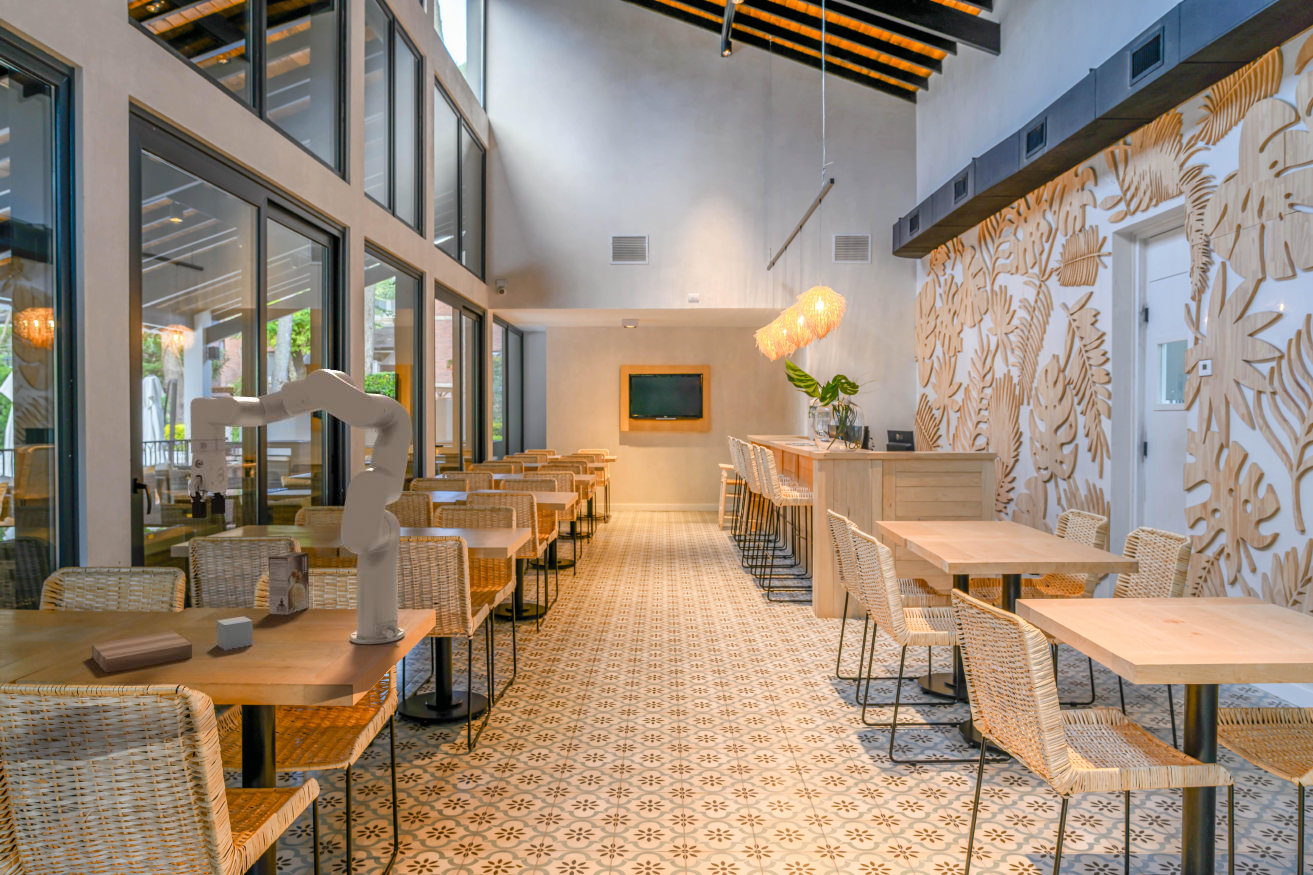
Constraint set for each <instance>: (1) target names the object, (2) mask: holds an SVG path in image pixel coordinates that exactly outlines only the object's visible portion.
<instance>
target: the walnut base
mask: <svg viewBox="0 0 1313 875" xmlns="http://www.w3.org/2000/svg"><path fill="white" fill-rule="evenodd" d="M91 658H92V659H93V660H94V661H95V662H96V664H97V665H98V664H99V665H98V666H99V667H100V668H101V669H102V670H103V671H104V673H106V672H111V673H114V672H113V671H116V672H120V671H119V670H121V671H126V670H131V669H137V668H143V667H147V666H148V667H149V666H152V665H158V664H159V665H160V664H164V663H170V662H175V661H180V660H185V659H190V658H191V659H192V658H193V644H192V643H191V642H189V641H188V640H187V639H185V638H184V637H182V636H181V635H180V634H178V633H177V632H176V631H174V630H171V631H165V632H158V633H153V634H147V635H139V636H134V637H128V638H122V639H116V640H110V641H104V642H97V643H92V644H91Z"/></svg>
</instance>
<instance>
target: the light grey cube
mask: <svg viewBox="0 0 1313 875" xmlns="http://www.w3.org/2000/svg"><path fill="white" fill-rule="evenodd" d="M253 641H254V640H253V620H252V619H250V618H248V617H246V616H237V617H231V618H224V619H217V620H216V646H217V645H218V646H217V647H219V648H220V647H221V648H220V649H222V648H223V649H224V650H223V649H222V650H223V651H228V650H227V649H230V650H233V649H232V648H235V649H239V648H238V647H241V648H244V647H243V646H246V647H250V646H249V645H252V646H253V643H254V642H253Z"/></svg>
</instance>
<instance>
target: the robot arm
mask: <svg viewBox="0 0 1313 875" xmlns="http://www.w3.org/2000/svg"><path fill="white" fill-rule="evenodd" d="M322 410H323V411H325V412H327V413H328V414H330V415H332V416H333V417H335V418H336V419H338V420H340V421H342V422H344V423H345V424H348V425H350V426H351V427H354V428H356V429H359V430H360V429H361V430H365V429H366V430H377V435H376V439H375V441H374V443H373V445H372V446H373V447H372V450H371V455H370V456H371V458H370V462H369V466H368V468H365V469H363V470H360V471H358V472H357V473H356V474H355V475H354V476H352V479H351V481H350V482H349V485H348V487H347V492H346V496H345V502H344V508H343V512H342V513H343V514H342V518H341V525H340V539H341V543H342V545H343V546H344V548H345V549H346V550H347V551H349V552H350V553H352V554H355V555H357V563H356V630H355V631H354V632H352V633H350V635H349V640H350V642H352V643H355V644H358V645H377V644H378V645H379V644H387V643H391V642H395V641H397V640H400V639H403V637H405V629H403V628H400V627H399V623H398V622H399V618H398V617H399V609H398V608H399V602H398V597H399V596H398V589H399V588H398V587H399V586H398V585H399V584H398V581H399V579H398V576H399V575H398V574H399V568H398V567H399V561H398V560H399V547H400V540H401V525H400V522H399V519H398V518H397V516H396V515H395V514H394V513H393V512H391V511H390V510H387V509H386V507H387V506H389V505H391V504H394V503H395V502H397V501H398V500H399V499H400V498H401V496H402V494H403V491H404V485H405V478H406V477H405V476H406V472H407V468H408V467H407V466H408V459H409V451H410V446H411V441H412V436H413V424H412V419H411V416H410V414H409V412H408V411H407V409H406V408H405V406H404V405H402V404H401V403H400V402H399V401H398V400H396V399H394V398H392V397H390V396H388V395H383V394H377V393H366V392H365V391H363V390H361V389H359V388H357V387H356V384H355V381H354V380H353V378H352V377H351V376H350V375H349V374H347V373H345V372H343V371H340V370H331V369H327V368H326V369H325V368H324V369H323V368H322V369H321V368H319V369H316V370H313V371H311V372H310V373H309V374H308V375H306V377H304V378H301V379H296V380H291V381H287V382H284V384H282V386H281V388H280V390H278V391H276V392H272V393H269V394H264V395H258V396H256V397H255V396H254V397H250V396H249V397H248V396H235V395H233V396H230V395H229V396H223V397H222V396H221V397H195V398H193V399H192V400H191V401H190V454H192V457H191V465H190V468H191V469H190V483H189V484H188V490H189V496H190V502H191V519H207V517H208V512H207V511H208V507H207V506H208V505H207V504H208V502H207V501H206V499H207V496H208V493H210V494H211V496H212V497H211V499H210V502H211V504H210V505H211V506H210V509H211V514H212V515H224V514H226V497H227V493H226V492H227V490H228V489H229V473H228V461H227V456H226V455H227V454H226V452H227V450H226V448H227V446H226V444H227V443H226V438H227V437H226V432H227V431H226V428H227V427H228V428H245V427H247V428H249V427H250V428H251V427H252V428H254V427H261V426H264V425H265V426H266V425H269V424H274V423H278V422H282V421H284V420H288V419H292V418H295V417H297V416H301V415H305V414H309V413H313V412H318V411H322Z"/></svg>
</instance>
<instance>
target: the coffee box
mask: <svg viewBox="0 0 1313 875" xmlns="http://www.w3.org/2000/svg"><path fill="white" fill-rule="evenodd" d="M309 569H310V568H309V552H308V551H307V552H304V551H301V552H300V551H289V552H285V553H281V554H275V555H272V556H268V599H269V602H268V605H269V606H268V608H269V609H268V610H269V612H268V613H269V614H270V615H283V614H289V615H292V614H294V612H295V613H297V612H299V611H302V610H306V609H308V608H310V584H309V583H310V581H309V580H310V575H309V574H310V572H309V571H310V570H309ZM296 611H297V612H296ZM291 613H292V614H291Z"/></svg>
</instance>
